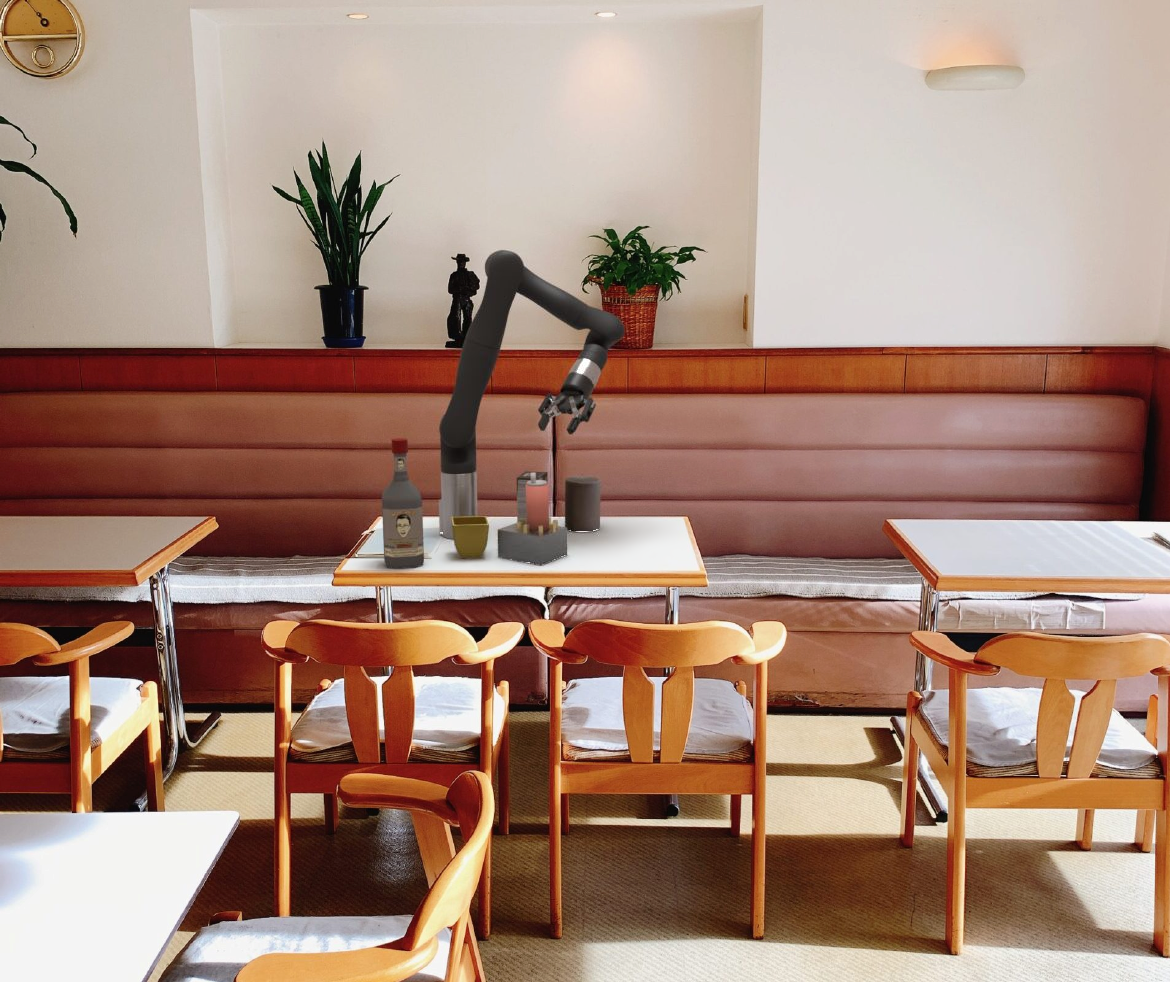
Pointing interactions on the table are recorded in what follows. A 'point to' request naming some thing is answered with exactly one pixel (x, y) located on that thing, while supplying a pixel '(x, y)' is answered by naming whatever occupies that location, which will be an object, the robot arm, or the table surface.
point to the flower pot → (470, 535)
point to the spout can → (537, 503)
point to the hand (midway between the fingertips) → (554, 430)
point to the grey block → (532, 542)
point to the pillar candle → (582, 503)
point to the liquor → (402, 515)
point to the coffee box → (522, 491)
